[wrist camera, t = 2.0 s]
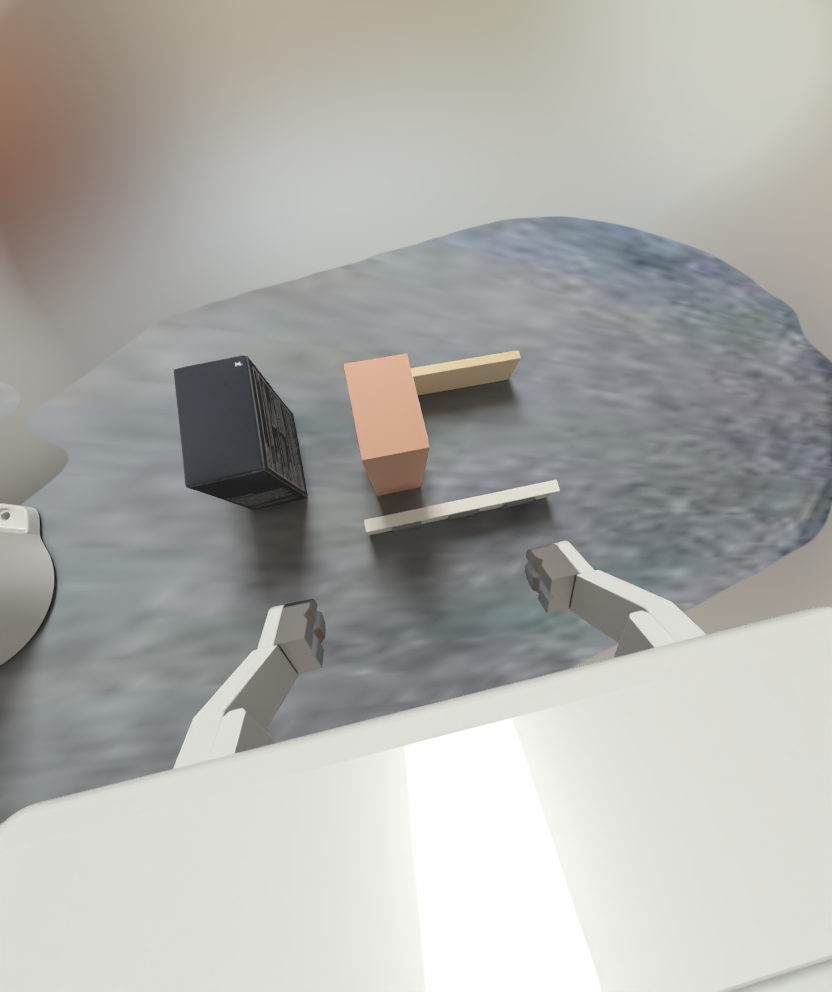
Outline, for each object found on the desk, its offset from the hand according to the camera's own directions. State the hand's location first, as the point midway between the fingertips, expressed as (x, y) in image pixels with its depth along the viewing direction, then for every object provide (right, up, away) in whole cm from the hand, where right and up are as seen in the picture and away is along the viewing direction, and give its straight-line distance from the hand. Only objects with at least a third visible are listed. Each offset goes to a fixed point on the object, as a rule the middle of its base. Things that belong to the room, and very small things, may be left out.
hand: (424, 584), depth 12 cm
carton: (-3, +8, +23) cm, 25 cm away
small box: (-16, +7, +23) cm, 29 cm away
